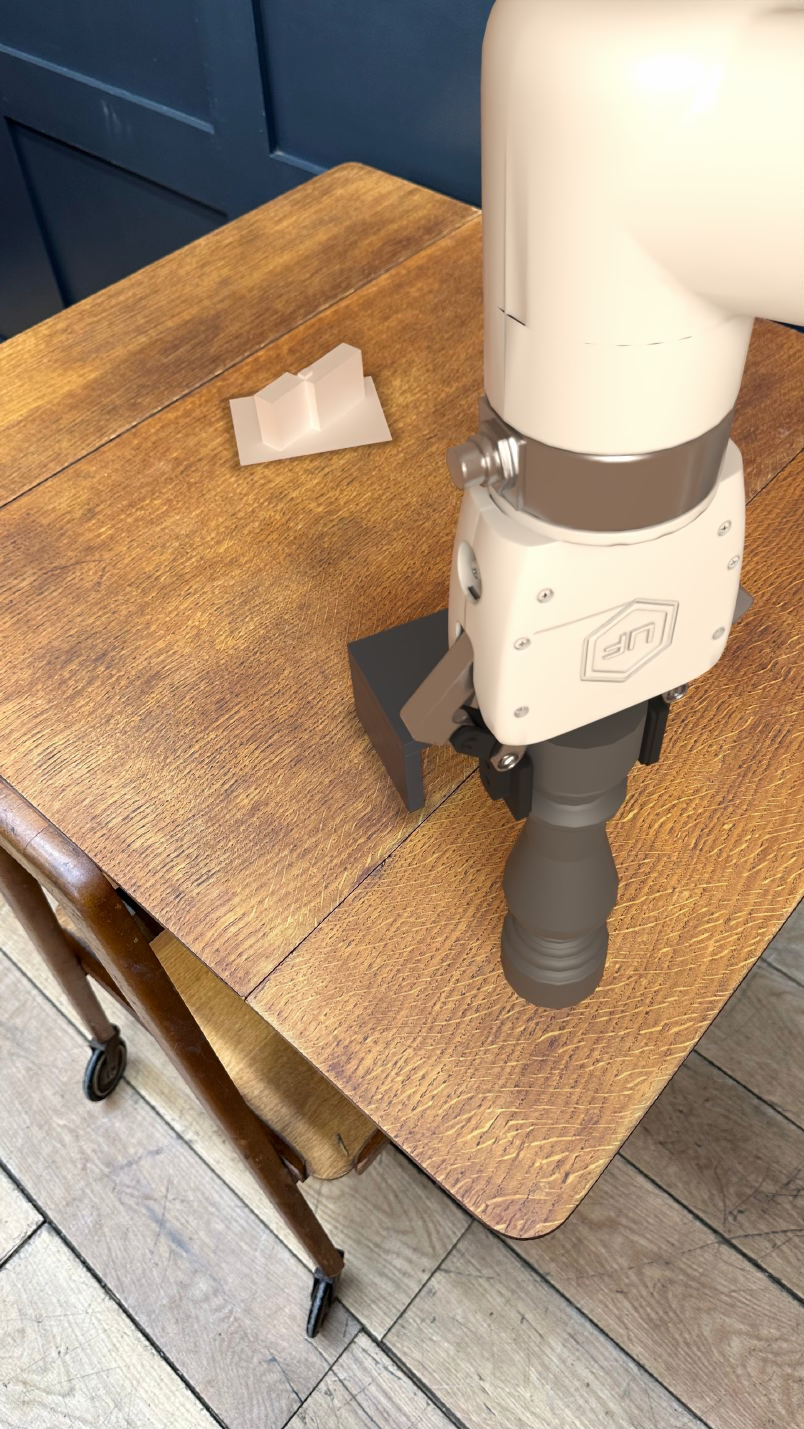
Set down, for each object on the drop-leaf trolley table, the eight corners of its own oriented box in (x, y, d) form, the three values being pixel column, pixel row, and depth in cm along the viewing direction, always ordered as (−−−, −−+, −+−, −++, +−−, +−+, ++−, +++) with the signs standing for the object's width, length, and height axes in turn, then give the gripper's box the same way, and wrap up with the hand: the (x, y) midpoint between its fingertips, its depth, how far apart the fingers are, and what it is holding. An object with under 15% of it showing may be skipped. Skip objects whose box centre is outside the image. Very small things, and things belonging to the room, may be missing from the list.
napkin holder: (370, 375, 107) (366, 324, 102) (394, 439, 100) (390, 388, 95) (227, 400, 105) (216, 349, 101) (240, 467, 98) (229, 416, 94)
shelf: (584, 628, 83) (594, 554, 77) (652, 715, 77) (668, 643, 71) (356, 714, 79) (346, 643, 72) (409, 813, 73) (403, 745, 67)
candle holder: (624, 985, 60) (685, 722, 41) (528, 1025, 59) (544, 775, 40) (574, 899, 64) (609, 620, 45) (483, 935, 63) (478, 666, 43)
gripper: (401, 598, 28) (432, 910, 42) (910, 412, 32) (783, 758, 46) (306, 449, 33) (363, 777, 47) (762, 301, 36) (687, 647, 50)
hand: (571, 765), depth 46 cm, fingers closed on candle holder, 5 cm apart
